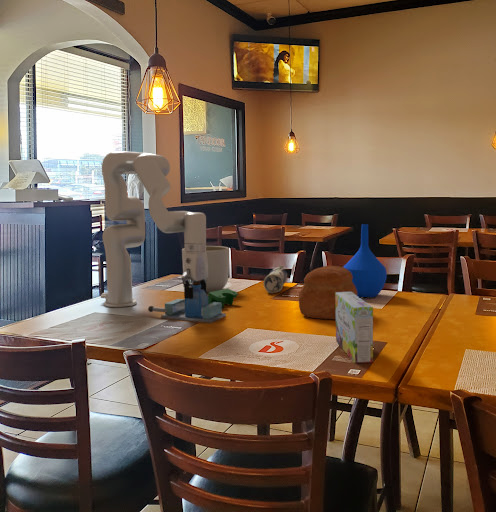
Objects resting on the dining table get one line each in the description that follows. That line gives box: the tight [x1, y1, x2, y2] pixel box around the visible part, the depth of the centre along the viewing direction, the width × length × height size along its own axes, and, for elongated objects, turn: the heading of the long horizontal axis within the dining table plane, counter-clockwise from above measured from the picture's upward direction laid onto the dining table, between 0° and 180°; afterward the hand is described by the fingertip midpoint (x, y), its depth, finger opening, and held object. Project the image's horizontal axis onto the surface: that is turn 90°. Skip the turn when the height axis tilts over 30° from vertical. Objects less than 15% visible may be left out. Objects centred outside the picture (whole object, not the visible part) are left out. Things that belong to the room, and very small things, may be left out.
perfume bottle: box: [184, 281, 208, 317], centre depth 198 cm, size 6×6×12 cm
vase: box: [343, 223, 388, 298], centre depth 233 cm, size 18×18×30 cm
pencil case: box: [262, 265, 288, 294], centre depth 250 cm, size 22×8×10 cm, turn 171°
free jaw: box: [147, 298, 185, 315], centre depth 203 cm, size 10×10×4 cm
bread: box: [298, 265, 357, 320], centre depth 202 cm, size 18×22×17 cm
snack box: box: [335, 292, 374, 364], centre depth 155 cm, size 21×6×15 cm, turn 5°
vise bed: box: [160, 302, 226, 324], centre depth 199 cm, size 20×11×5 cm, turn 67°
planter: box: [181, 245, 230, 294], centre depth 250 cm, size 21×21×19 cm
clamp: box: [207, 288, 238, 309], centre depth 218 cm, size 12×6×9 cm, turn 134°
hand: (195, 295), depth 198 cm, fingers open, 9 cm apart
